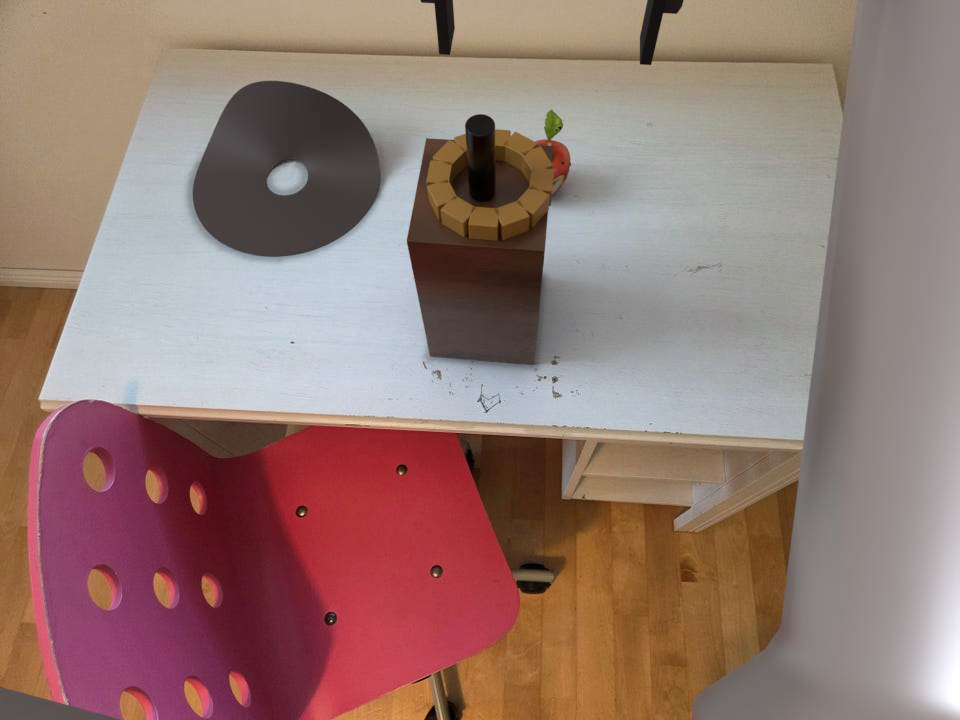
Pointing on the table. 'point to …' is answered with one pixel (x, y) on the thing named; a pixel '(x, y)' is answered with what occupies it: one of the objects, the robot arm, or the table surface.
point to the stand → (477, 274)
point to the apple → (556, 150)
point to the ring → (491, 220)
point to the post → (481, 157)
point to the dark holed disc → (269, 140)
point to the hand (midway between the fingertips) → (545, 46)
